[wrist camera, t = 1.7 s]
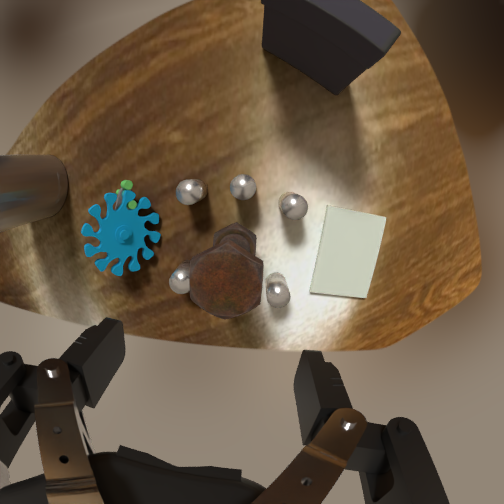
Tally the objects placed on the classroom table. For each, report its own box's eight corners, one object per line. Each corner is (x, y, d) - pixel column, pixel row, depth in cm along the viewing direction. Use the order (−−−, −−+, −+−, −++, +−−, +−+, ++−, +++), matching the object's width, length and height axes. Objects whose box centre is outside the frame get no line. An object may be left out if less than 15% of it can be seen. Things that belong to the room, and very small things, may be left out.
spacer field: (177, 286, 35) (168, 301, 31) (188, 167, 31) (178, 167, 27) (282, 301, 36) (285, 318, 31) (303, 183, 32) (311, 185, 27)
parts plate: (309, 290, 35) (310, 292, 35) (326, 205, 32) (328, 205, 32) (364, 296, 36) (366, 298, 35) (384, 216, 33) (386, 217, 32)
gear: (155, 278, 33) (79, 276, 26) (137, 264, 37) (70, 261, 30) (172, 189, 32) (94, 173, 24) (152, 186, 36) (84, 173, 28)
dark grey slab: (350, 77, 28) (406, 27, 13) (333, 99, 29) (386, 54, 14) (277, 30, 26) (291, -43, 12) (258, 51, 27) (261, -21, 13)
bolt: (256, 261, 34) (258, 324, 20) (215, 259, 34) (189, 319, 20) (260, 214, 33) (265, 246, 18) (217, 211, 33) (188, 241, 18)
